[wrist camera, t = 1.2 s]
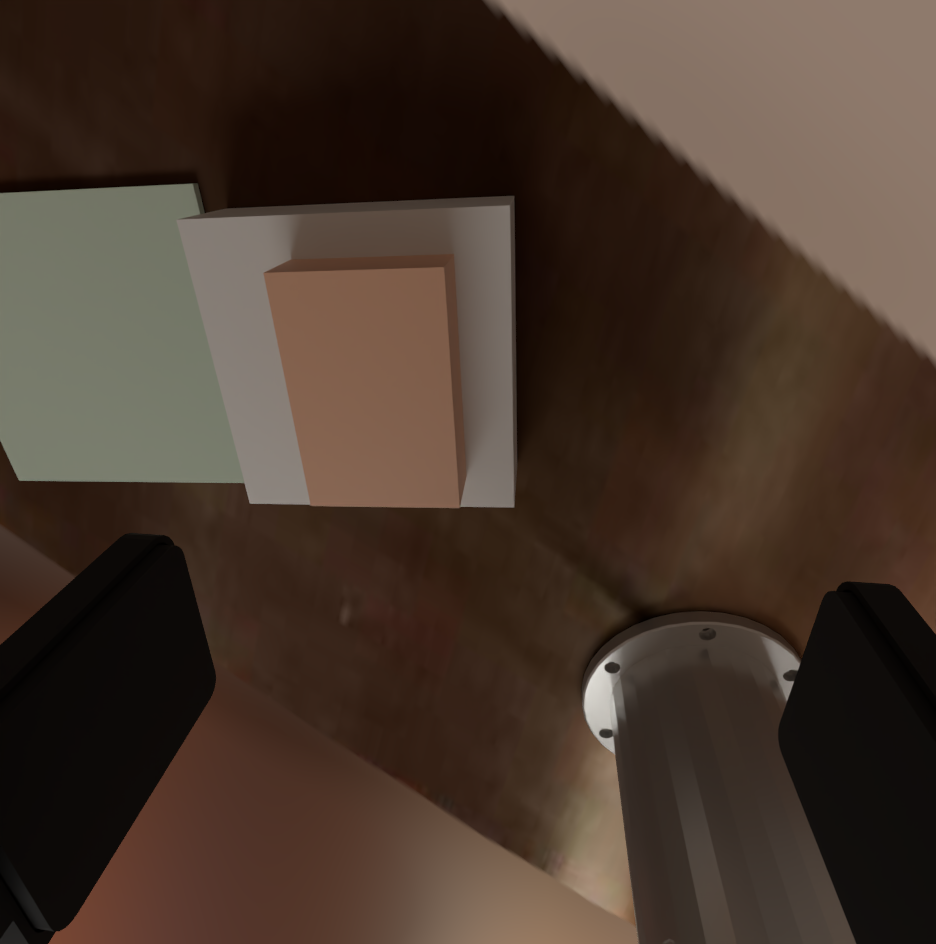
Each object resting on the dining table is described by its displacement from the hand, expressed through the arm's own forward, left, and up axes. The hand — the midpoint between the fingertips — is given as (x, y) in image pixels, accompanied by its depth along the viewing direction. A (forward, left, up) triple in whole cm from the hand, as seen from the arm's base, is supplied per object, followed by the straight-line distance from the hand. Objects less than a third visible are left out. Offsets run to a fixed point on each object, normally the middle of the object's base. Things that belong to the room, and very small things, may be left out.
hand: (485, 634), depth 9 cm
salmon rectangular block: (-1, +5, -15) cm, 16 cm away
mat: (-1, +20, -19) cm, 28 cm away
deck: (-1, +6, -19) cm, 20 cm away
